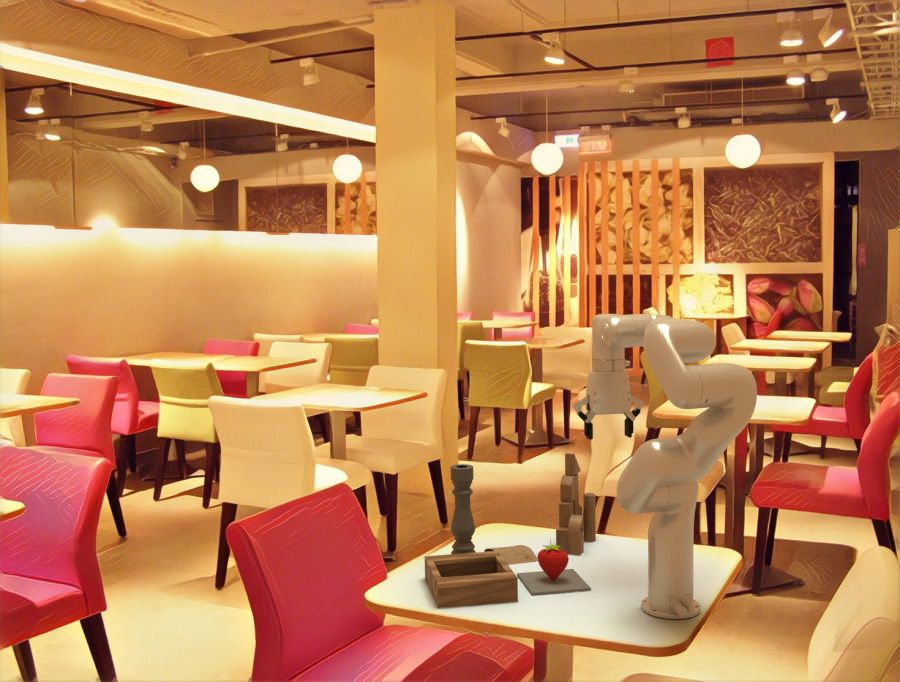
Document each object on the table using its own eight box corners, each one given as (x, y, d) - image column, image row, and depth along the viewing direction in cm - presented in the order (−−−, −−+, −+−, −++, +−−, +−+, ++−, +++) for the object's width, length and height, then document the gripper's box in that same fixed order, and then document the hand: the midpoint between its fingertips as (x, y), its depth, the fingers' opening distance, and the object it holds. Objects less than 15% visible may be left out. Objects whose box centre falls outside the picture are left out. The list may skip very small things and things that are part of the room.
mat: (591, 590, 220) (591, 588, 220) (531, 595, 218) (531, 592, 218) (572, 571, 234) (572, 568, 234) (517, 575, 231) (517, 573, 231)
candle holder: (481, 564, 241) (479, 466, 238) (464, 570, 236) (462, 470, 234) (462, 559, 245) (461, 462, 243) (446, 565, 240) (444, 467, 238)
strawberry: (564, 586, 221) (564, 543, 221) (533, 582, 224) (533, 540, 224) (572, 578, 227) (572, 537, 226) (542, 574, 230) (541, 533, 229)
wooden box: (517, 601, 214) (517, 577, 214) (438, 608, 211) (437, 583, 211) (498, 572, 234) (497, 550, 233) (425, 578, 231) (424, 556, 230)
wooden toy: (580, 556, 245) (580, 460, 243) (555, 553, 248) (554, 458, 246) (597, 539, 259) (596, 448, 257) (573, 537, 262) (572, 446, 260)
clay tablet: (482, 552, 252) (482, 542, 252) (518, 548, 255) (518, 538, 255) (502, 569, 238) (502, 558, 238) (540, 564, 241) (540, 554, 241)
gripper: (637, 363, 232) (637, 433, 233) (568, 366, 229) (569, 436, 231) (649, 366, 225) (649, 438, 226) (578, 369, 222) (578, 442, 223)
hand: (608, 437), depth 228 cm, fingers open, 9 cm apart
